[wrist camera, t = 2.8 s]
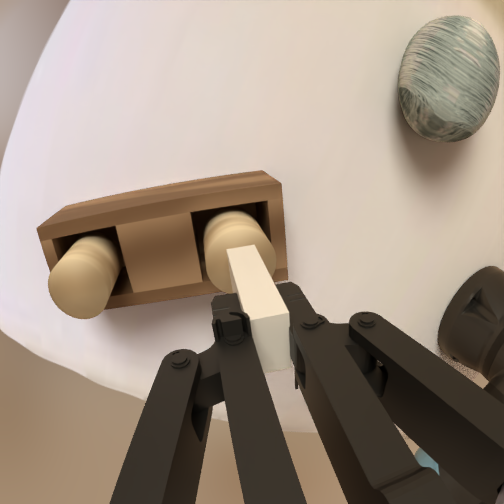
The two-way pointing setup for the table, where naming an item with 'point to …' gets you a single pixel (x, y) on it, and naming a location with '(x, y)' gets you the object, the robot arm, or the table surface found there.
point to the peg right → (233, 243)
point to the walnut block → (167, 233)
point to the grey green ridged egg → (449, 79)
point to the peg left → (86, 275)
